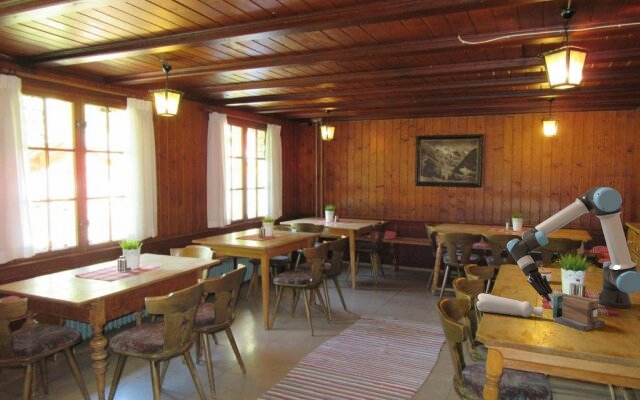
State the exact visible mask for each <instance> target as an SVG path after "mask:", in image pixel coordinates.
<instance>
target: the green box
mask: <svg viewBox="0 0 640 400" xmlns="http://www.w3.org/2000/svg"><path fill="white" fill-rule="evenodd" d="M564 296H569V294H568V293H559V294H553V308H552V318H553V319H555V318H558V317H562V308H563V297H564ZM590 316H591V317H596V316H597V309H590Z"/></svg>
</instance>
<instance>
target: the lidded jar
mask: <svg viewBox="0 0 640 400" xmlns="http://www.w3.org/2000/svg"><path fill="white" fill-rule="evenodd" d="M538 272H539V273H540V274H541V275H542V276H544V275H545V276H546V278H547V281H548V283H549V282H550V281H551V278H552V272H553V271H552V270H550V269H546V268H544V267H541V268H539V270H538Z"/></svg>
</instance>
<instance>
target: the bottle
mask: <svg viewBox="0 0 640 400" xmlns="http://www.w3.org/2000/svg"><path fill="white" fill-rule="evenodd" d="M477 300H478V301H476V307H477V310H479V311H480V312H483V313H484V312H485V313H490V314H501V315H511V316H522V317H523V318H525V319H527V318H530V317H531V316H532V315H534V316H538V317H540V318H541V317H542V318H543V315H544V314H543V313H544V307H541V306H534V307H533V306H532V304H531V303H530V302H529V301H528V300H526V301H520V300H517V299H512V298H507V297H502V296H497V295H493V294H490V293H484V292H482V293H479V294H478V295H477Z"/></svg>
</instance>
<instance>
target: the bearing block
mask: <svg viewBox="0 0 640 400" xmlns="http://www.w3.org/2000/svg"><path fill="white" fill-rule="evenodd" d="M590 309H597V316H596V317H591V316H590ZM598 311H599V303H598V299H593V298H590V297H584V296H581V295H576V294H570V295H569V294H568V296H564V297H563V308H562V317H558V318H554V323H556V324H559V325H563V326H565V327H569V328H572V329H575V330H579V331H582V332H586V331H590V330H593V329H596V328H601V327H604V326H605V320H601V319H598V318H599V317H598V316H599V312H598Z"/></svg>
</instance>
